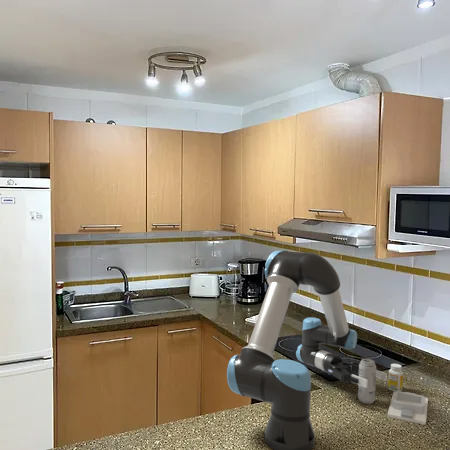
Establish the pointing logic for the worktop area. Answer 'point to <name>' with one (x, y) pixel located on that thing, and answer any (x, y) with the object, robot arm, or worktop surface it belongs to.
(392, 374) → the supplement bottle
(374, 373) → the energy drink can
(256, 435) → the worktop surface
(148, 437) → the worktop surface
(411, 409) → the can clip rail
